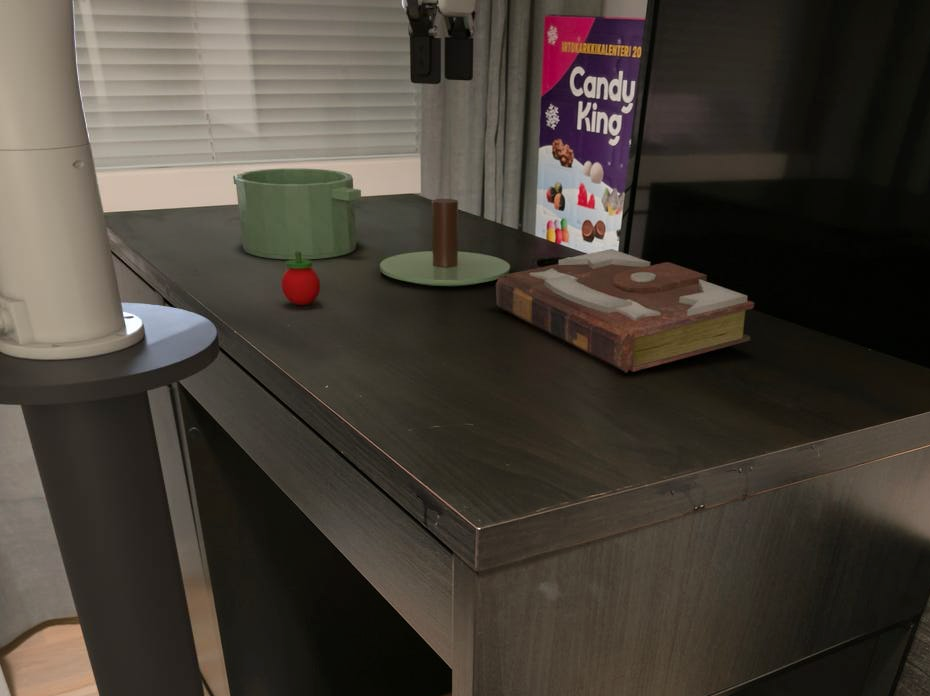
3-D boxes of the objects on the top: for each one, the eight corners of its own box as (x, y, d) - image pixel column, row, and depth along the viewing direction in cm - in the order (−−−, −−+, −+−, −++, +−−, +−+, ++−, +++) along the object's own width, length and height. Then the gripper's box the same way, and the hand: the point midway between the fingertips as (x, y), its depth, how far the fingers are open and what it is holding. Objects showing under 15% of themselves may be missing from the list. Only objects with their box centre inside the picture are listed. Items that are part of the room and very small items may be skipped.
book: (497, 317, 98) (494, 268, 95) (618, 290, 103) (619, 243, 100) (620, 383, 81) (622, 326, 78) (757, 346, 86) (764, 291, 83)
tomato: (296, 311, 95) (291, 257, 92) (276, 303, 98) (270, 250, 95) (328, 305, 97) (324, 252, 94) (308, 298, 100) (304, 246, 97)
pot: (318, 268, 112) (312, 191, 107) (206, 246, 121) (196, 174, 116) (394, 249, 122) (391, 178, 117) (284, 230, 131) (278, 163, 126)
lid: (460, 297, 101) (460, 218, 97) (353, 276, 109) (348, 201, 104) (534, 272, 112) (537, 199, 108) (432, 254, 119) (431, 185, 115)
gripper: (439, -112, 97) (439, 77, 107) (370, -136, 84) (377, 83, 93) (506, -113, 95) (500, 80, 105) (447, -137, 82) (446, 86, 91)
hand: (442, 81), depth 99 cm, fingers open, 9 cm apart
